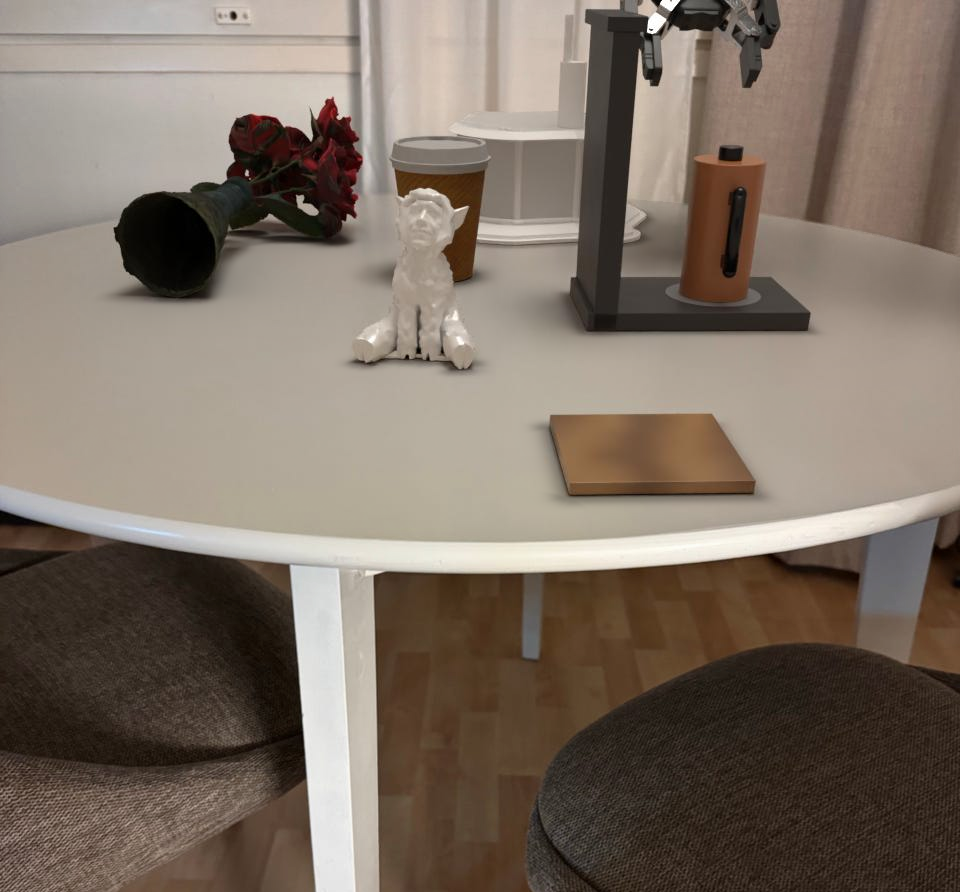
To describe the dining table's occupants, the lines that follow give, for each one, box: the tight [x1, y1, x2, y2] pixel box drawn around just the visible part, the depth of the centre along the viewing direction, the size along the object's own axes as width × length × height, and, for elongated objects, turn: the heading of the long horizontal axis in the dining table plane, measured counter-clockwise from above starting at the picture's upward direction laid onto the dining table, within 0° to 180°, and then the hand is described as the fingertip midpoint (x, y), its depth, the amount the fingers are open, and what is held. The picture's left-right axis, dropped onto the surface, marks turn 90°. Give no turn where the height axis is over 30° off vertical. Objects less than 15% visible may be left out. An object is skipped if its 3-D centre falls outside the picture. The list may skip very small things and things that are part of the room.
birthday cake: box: [447, 13, 647, 246], centre depth 122 cm, size 30×29×22 cm
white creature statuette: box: [351, 188, 477, 370], centre depth 82 cm, size 10×9×12 cm
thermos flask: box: [679, 144, 768, 303], centre depth 90 cm, size 6×8×12 cm
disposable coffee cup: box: [388, 135, 491, 282], centre depth 102 cm, size 10×10×12 cm
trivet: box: [548, 413, 757, 496], centre depth 67 cm, size 11×11×1 cm
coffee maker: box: [569, 8, 812, 332], centre depth 89 cm, size 19×12×23 cm, turn 93°
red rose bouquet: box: [113, 95, 364, 299], centre depth 108 cm, size 16×18×35 cm
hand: (703, 81), depth 96 cm, fingers open, 8 cm apart
